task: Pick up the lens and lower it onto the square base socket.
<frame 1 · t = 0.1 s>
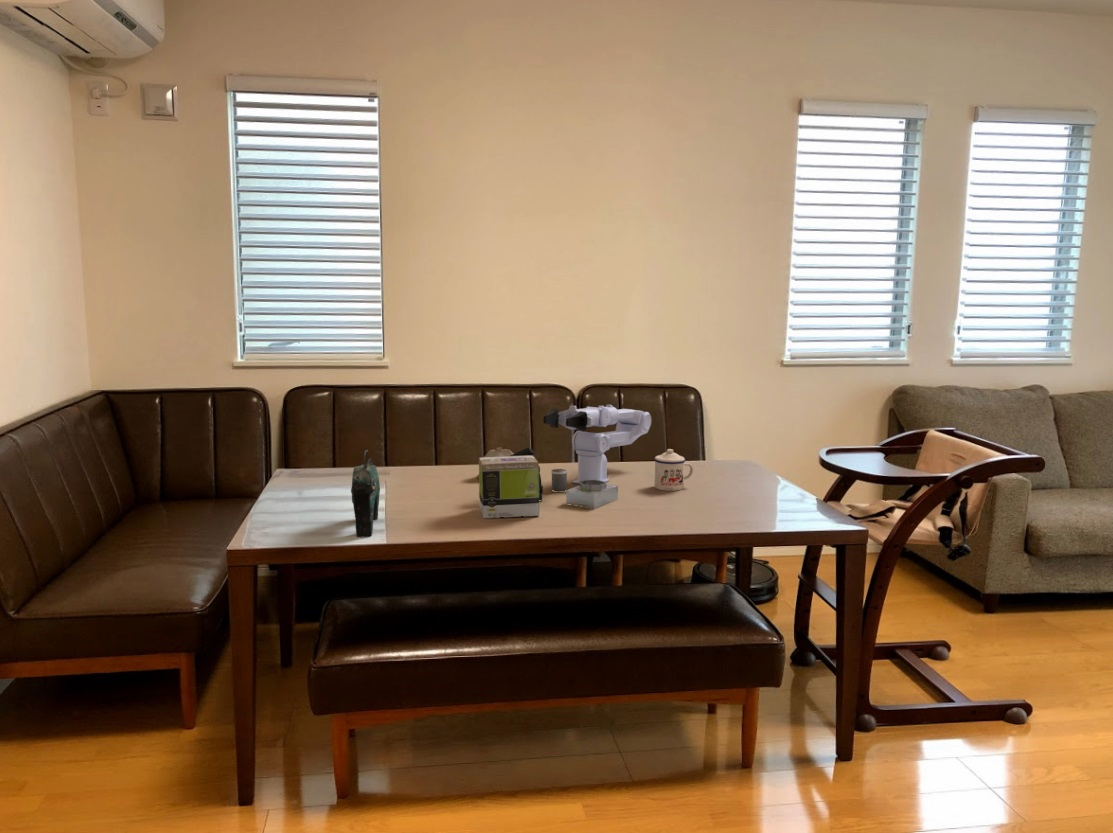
hand: (555, 420, 249), 22 cm above the table, tool horizontal, fingers open, 7 cm apart
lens: (559, 490, 257), on the table
tea box: (508, 514, 232), on the table
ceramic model: (499, 479, 273), on the table
square base socket: (592, 501, 244), on the table
teacup with lid: (673, 488, 262), on the table
ceramic cat: (366, 528, 218), on the table
dark angular piece: (519, 500, 246), on the table
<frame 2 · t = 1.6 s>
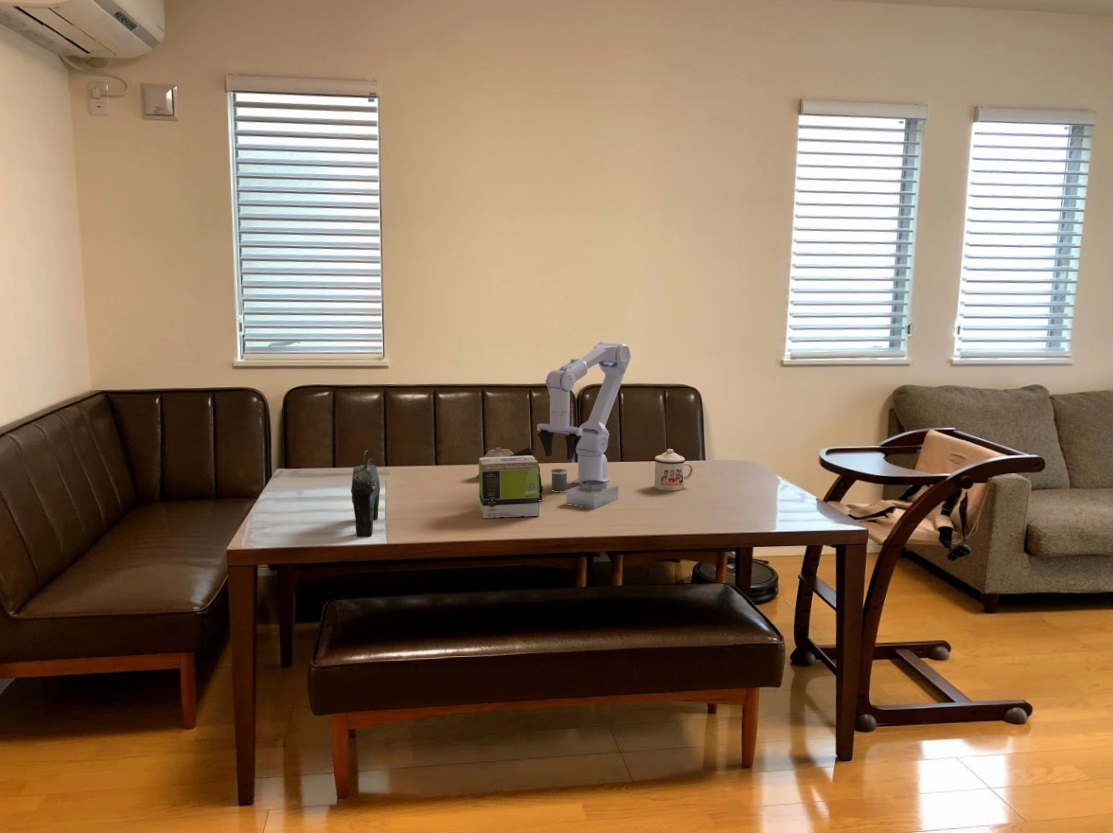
hand: (559, 457, 256), 10 cm above the table, tool pointing down, fingers open, 7 cm apart
nothing on the table moved.
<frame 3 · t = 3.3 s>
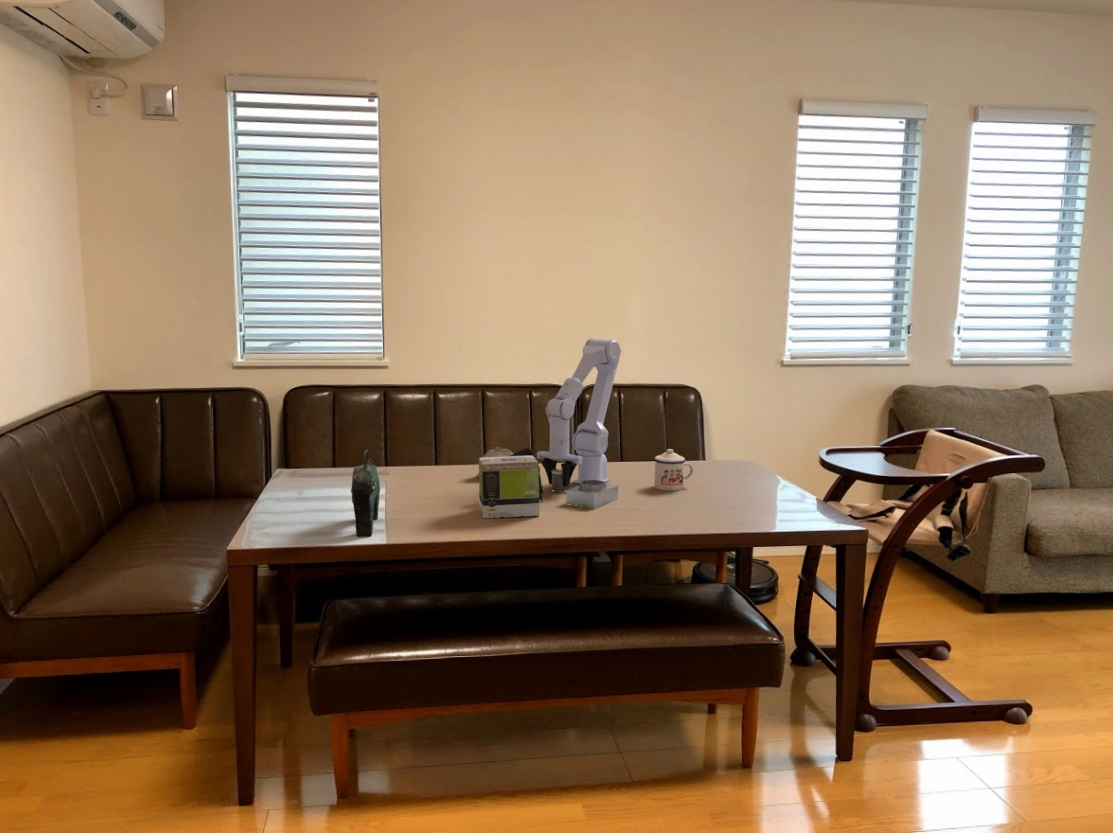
hand: (559, 485, 257), 2 cm above the table, tool pointing down, fingers closed on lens, 4 cm apart
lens: (559, 490, 257), on the table, touching gripper
everything else where it was.
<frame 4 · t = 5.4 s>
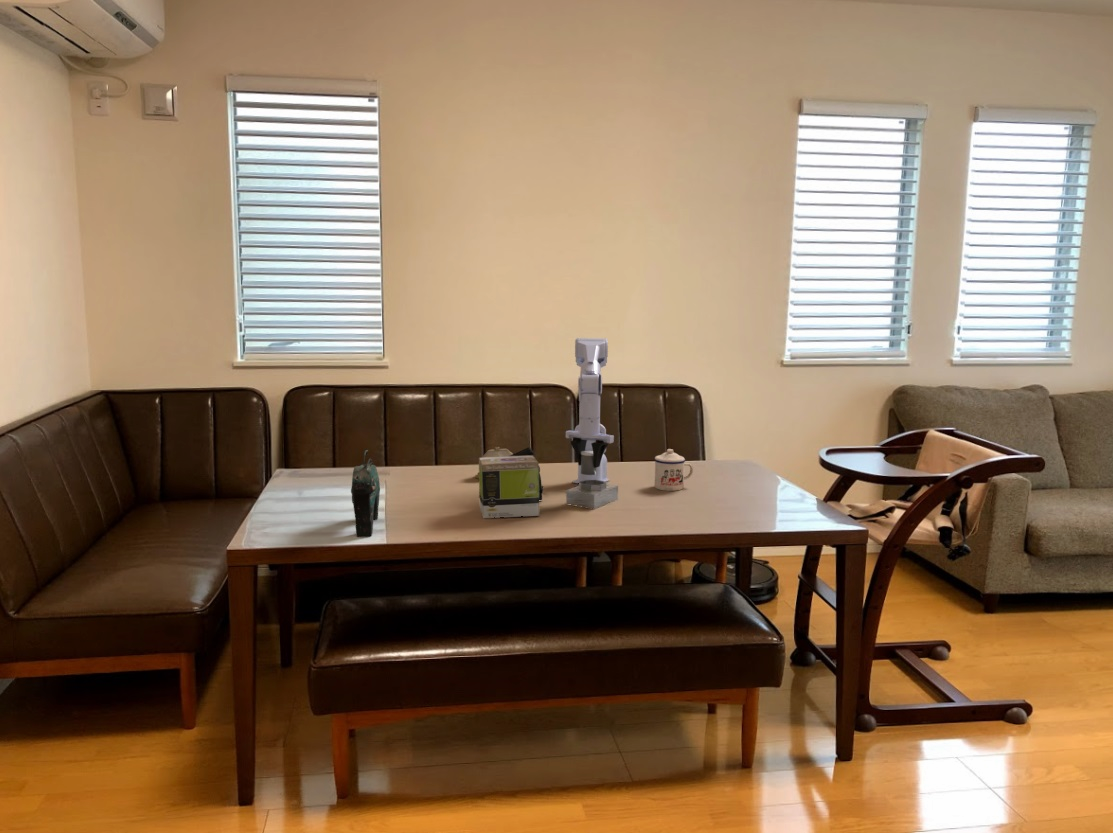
hand: (588, 465, 244), 10 cm above the table, tool pointing down, fingers closed on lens, 4 cm apart
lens: (588, 473, 244), point 8 cm above the table, touching gripper
everything else where it was.
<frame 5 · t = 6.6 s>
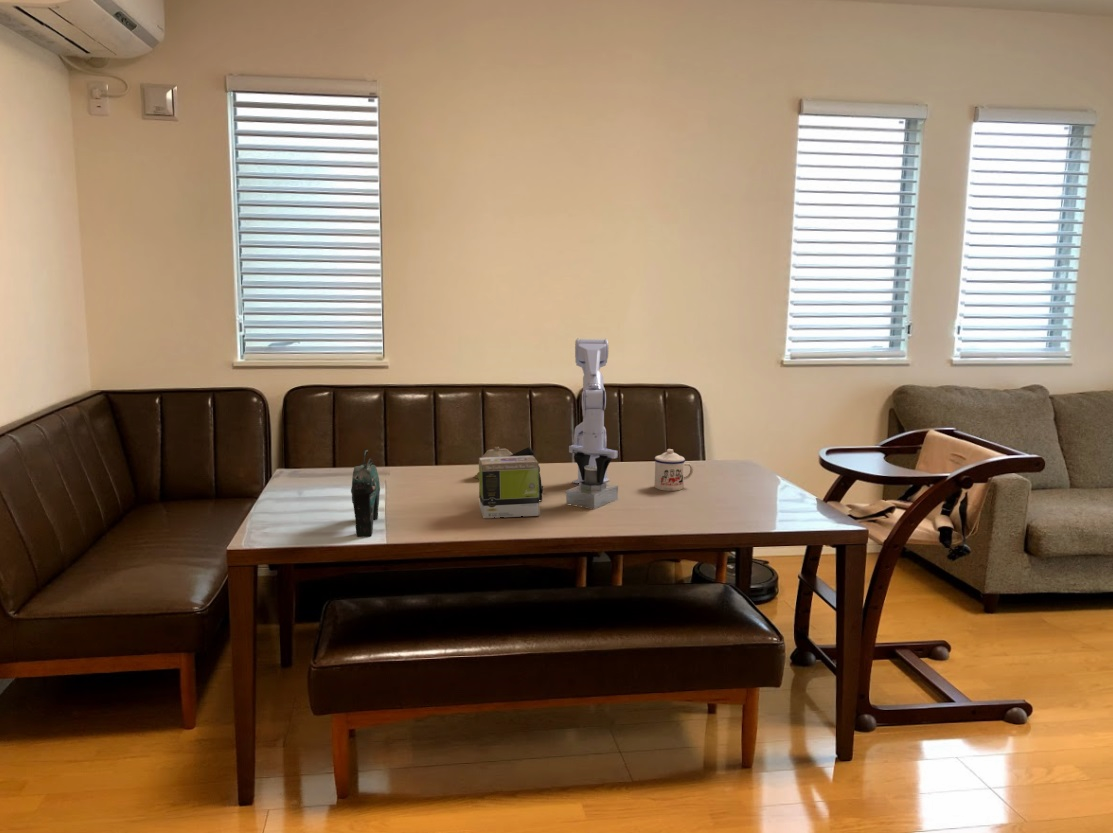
hand: (592, 480, 243), 6 cm above the table, tool pointing down, fingers closed on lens, 4 cm apart
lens: (592, 487, 243), point 4 cm above the table, touching square base socket, gripper
when the fingers open (6 cm above the table, at t = 7.4 s): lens stays where it is, resting on square base socket.
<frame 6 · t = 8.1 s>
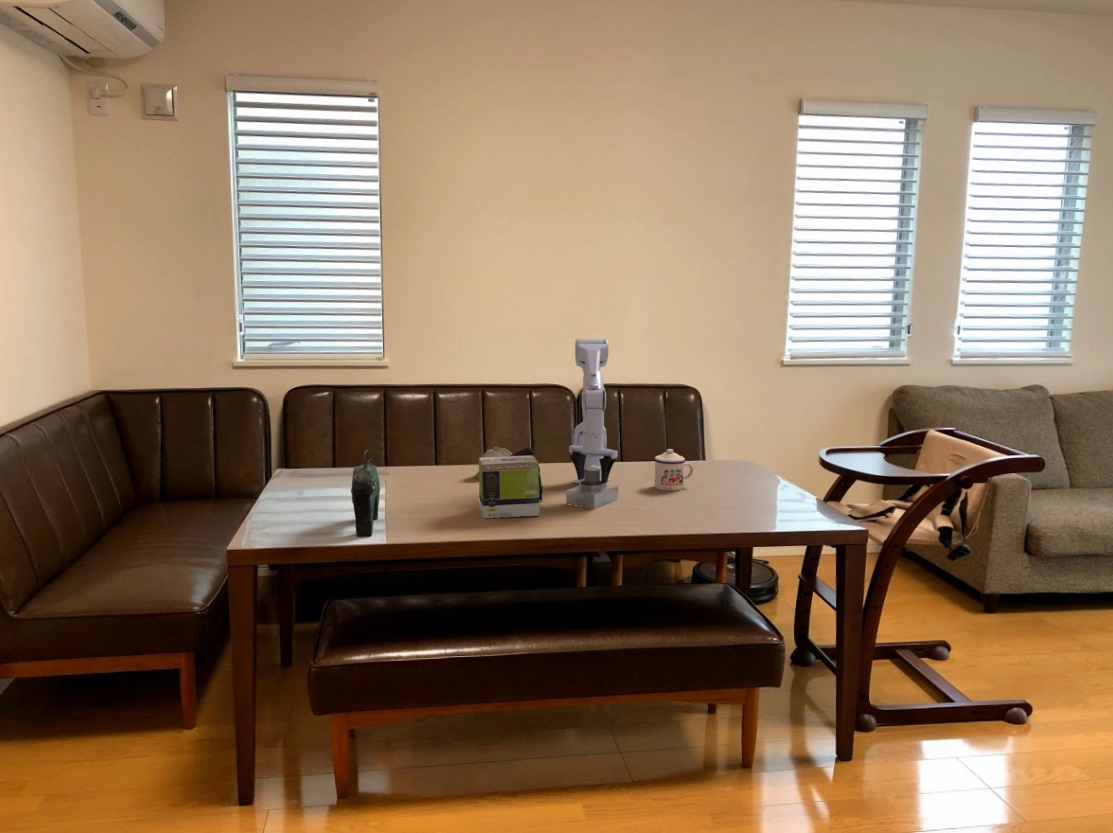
hand: (592, 480, 243), 6 cm above the table, tool pointing down, fingers open, 7 cm apart
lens: (592, 488, 243), point 4 cm above the table, touching square base socket
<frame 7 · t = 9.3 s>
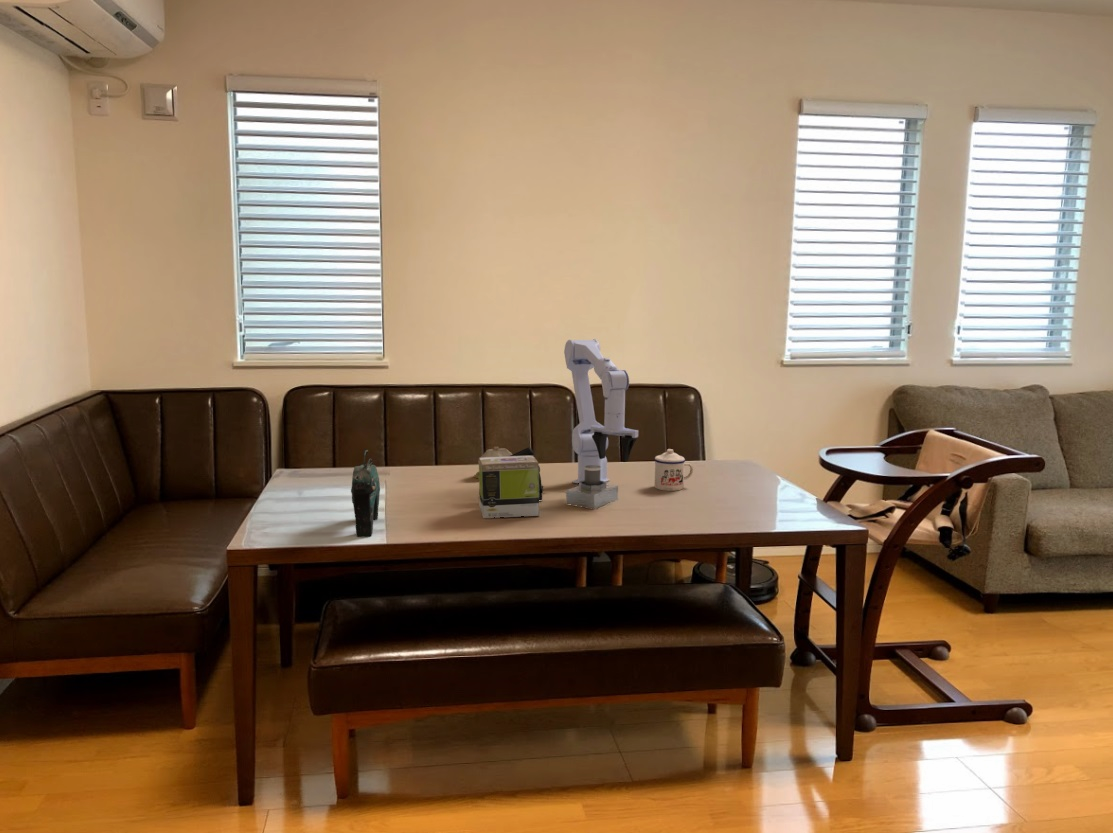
hand: (613, 459, 250), 10 cm above the table, tool pointing down, fingers open, 7 cm apart
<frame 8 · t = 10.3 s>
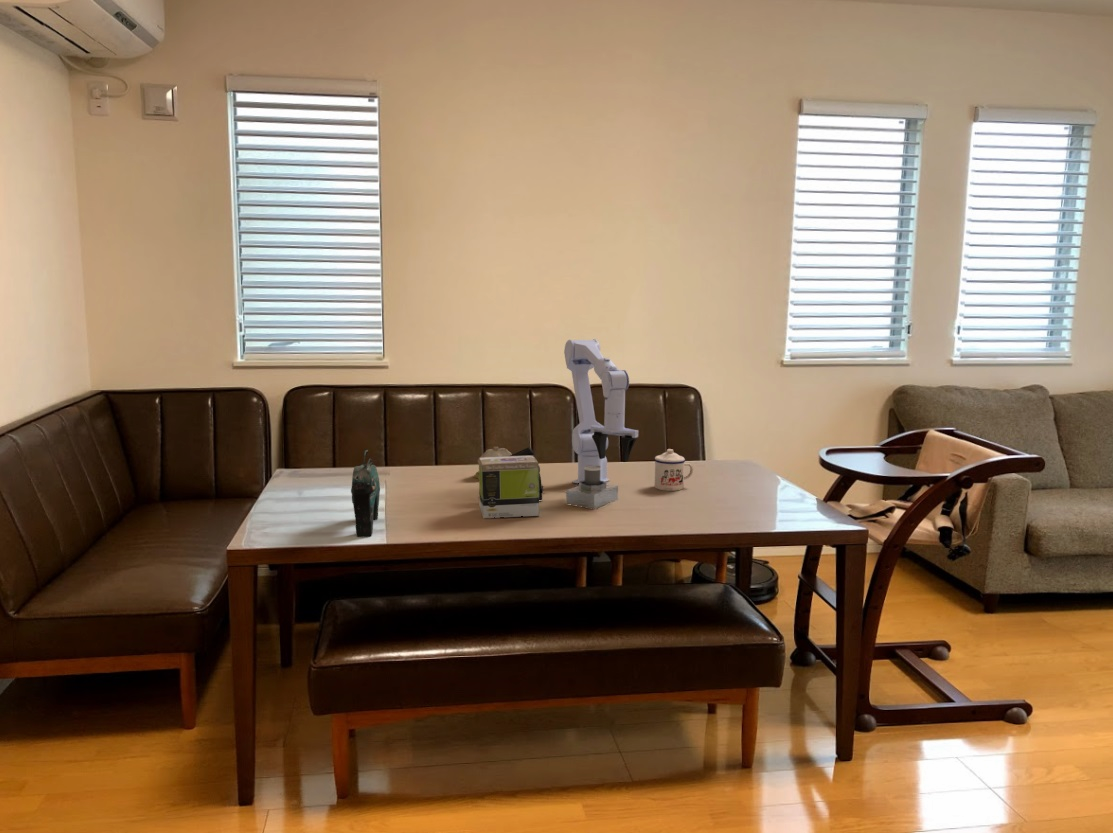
hand: (613, 459, 250), 10 cm above the table, tool pointing down, fingers open, 7 cm apart
at the end: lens 0.2 cm off-centre on the square base socket, point 4.0 cm above the square base socket's base; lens tilted 0°; the gripper is holding nothing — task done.
